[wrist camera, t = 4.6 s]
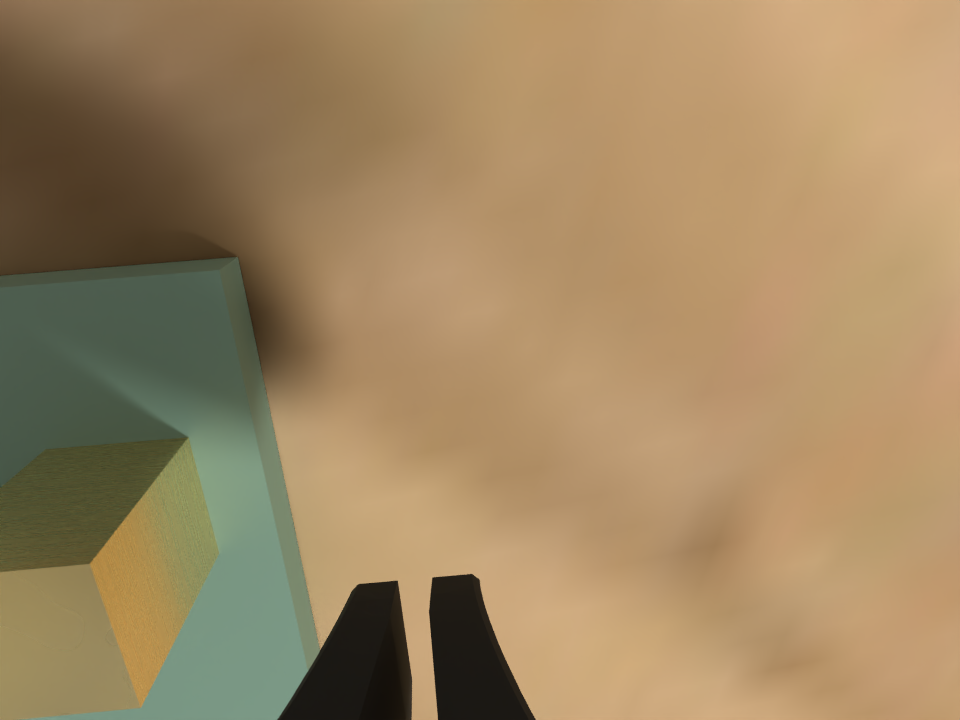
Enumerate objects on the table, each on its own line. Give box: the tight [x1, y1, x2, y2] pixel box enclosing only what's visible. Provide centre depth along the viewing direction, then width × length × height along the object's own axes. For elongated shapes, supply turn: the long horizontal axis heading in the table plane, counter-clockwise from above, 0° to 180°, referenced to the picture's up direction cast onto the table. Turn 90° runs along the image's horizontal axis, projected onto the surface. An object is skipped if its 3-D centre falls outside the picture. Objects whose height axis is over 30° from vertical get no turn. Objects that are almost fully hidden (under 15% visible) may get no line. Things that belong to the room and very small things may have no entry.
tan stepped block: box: [0, 437, 219, 720], centre depth 12 cm, size 3×6×4 cm, turn 94°
